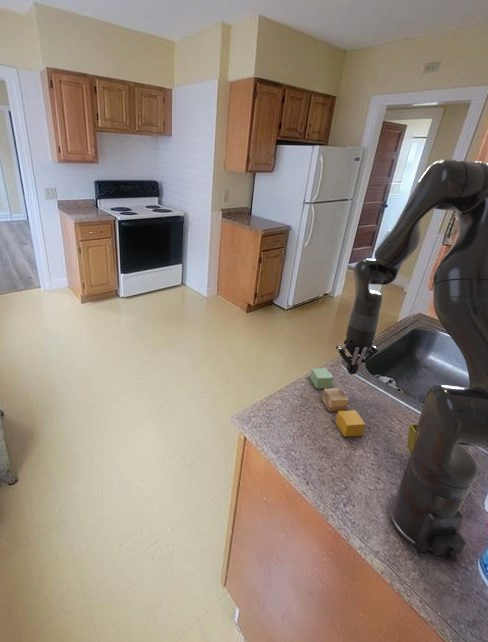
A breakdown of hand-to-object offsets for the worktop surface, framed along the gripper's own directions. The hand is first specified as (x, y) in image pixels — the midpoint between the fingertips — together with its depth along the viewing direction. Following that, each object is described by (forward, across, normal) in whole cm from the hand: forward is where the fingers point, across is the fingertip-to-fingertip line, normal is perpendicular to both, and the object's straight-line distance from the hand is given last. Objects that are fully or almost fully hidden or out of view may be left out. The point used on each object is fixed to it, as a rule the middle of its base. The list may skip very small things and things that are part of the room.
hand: (351, 372), depth 101 cm
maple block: (+5, -9, -8) cm, 13 cm away
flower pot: (+6, +4, -29) cm, 30 cm away
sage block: (+5, -8, +2) cm, 10 cm away
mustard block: (+6, -9, -17) cm, 20 cm away
